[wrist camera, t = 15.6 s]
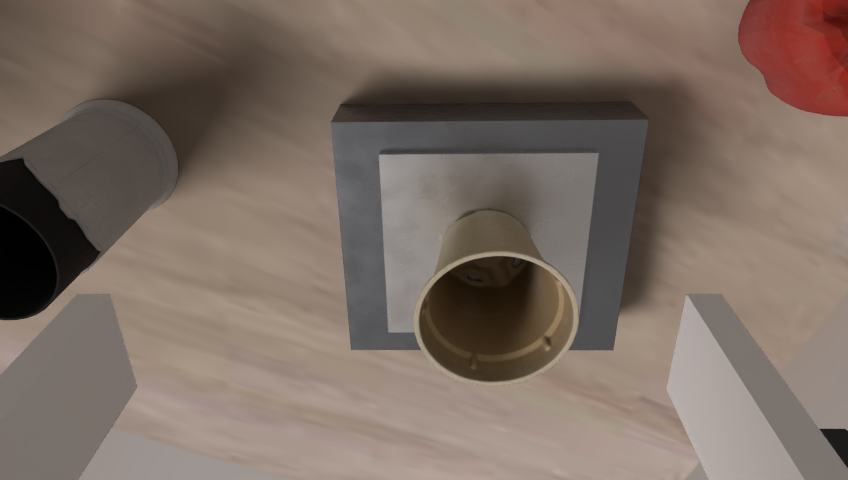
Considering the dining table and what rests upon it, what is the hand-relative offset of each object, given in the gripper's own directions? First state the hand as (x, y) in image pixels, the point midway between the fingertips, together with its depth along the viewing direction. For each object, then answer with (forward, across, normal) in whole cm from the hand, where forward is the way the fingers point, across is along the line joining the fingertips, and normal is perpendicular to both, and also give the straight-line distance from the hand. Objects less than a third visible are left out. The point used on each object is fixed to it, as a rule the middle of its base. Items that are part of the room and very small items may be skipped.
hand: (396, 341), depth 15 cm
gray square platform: (+31, +4, -12) cm, 33 cm away
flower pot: (+26, +4, -12) cm, 29 cm away
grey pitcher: (+31, -25, -8) cm, 41 cm away
